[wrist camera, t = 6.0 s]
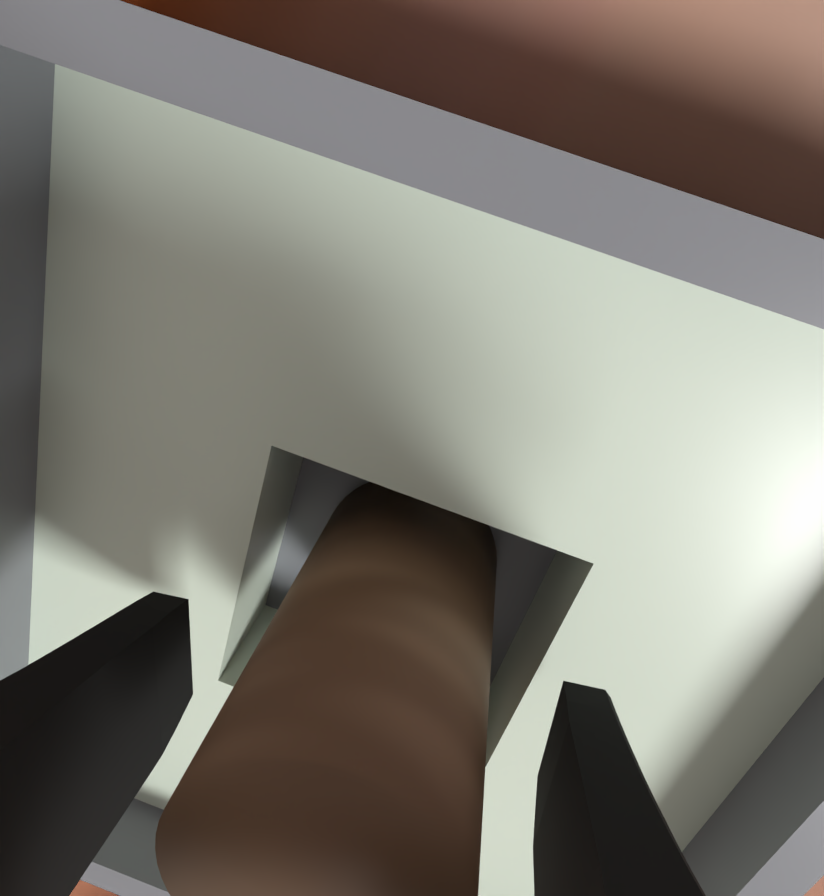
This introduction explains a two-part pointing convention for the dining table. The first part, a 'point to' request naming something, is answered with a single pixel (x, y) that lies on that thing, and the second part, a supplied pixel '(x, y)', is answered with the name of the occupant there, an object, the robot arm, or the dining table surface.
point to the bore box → (411, 412)
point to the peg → (352, 722)
